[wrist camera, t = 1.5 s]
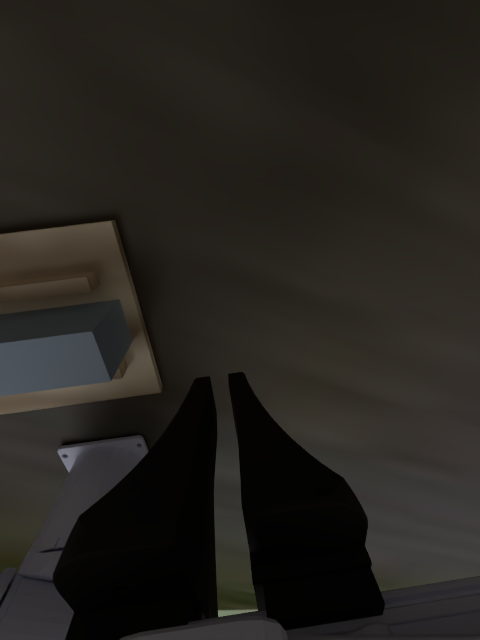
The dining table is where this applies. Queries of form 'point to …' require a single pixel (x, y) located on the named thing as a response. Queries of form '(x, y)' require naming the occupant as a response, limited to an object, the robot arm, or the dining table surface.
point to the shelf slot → (76, 302)
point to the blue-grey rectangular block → (62, 346)
